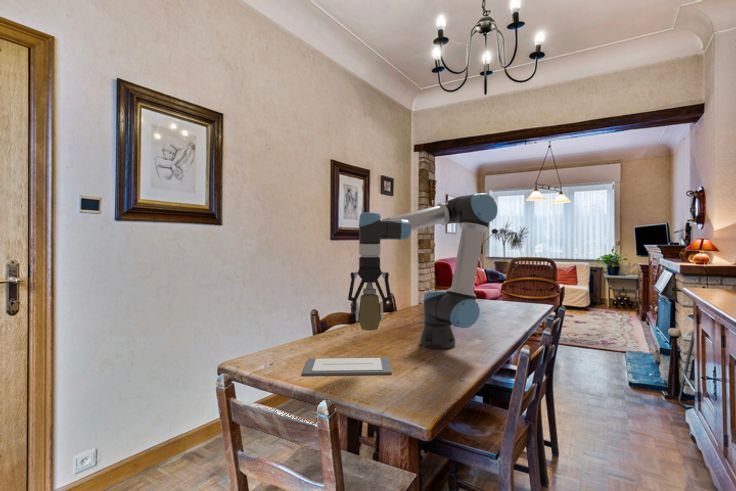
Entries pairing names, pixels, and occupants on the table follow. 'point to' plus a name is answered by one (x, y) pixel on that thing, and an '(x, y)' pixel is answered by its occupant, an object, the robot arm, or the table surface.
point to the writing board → (347, 366)
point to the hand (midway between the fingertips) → (369, 320)
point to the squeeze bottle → (369, 309)
